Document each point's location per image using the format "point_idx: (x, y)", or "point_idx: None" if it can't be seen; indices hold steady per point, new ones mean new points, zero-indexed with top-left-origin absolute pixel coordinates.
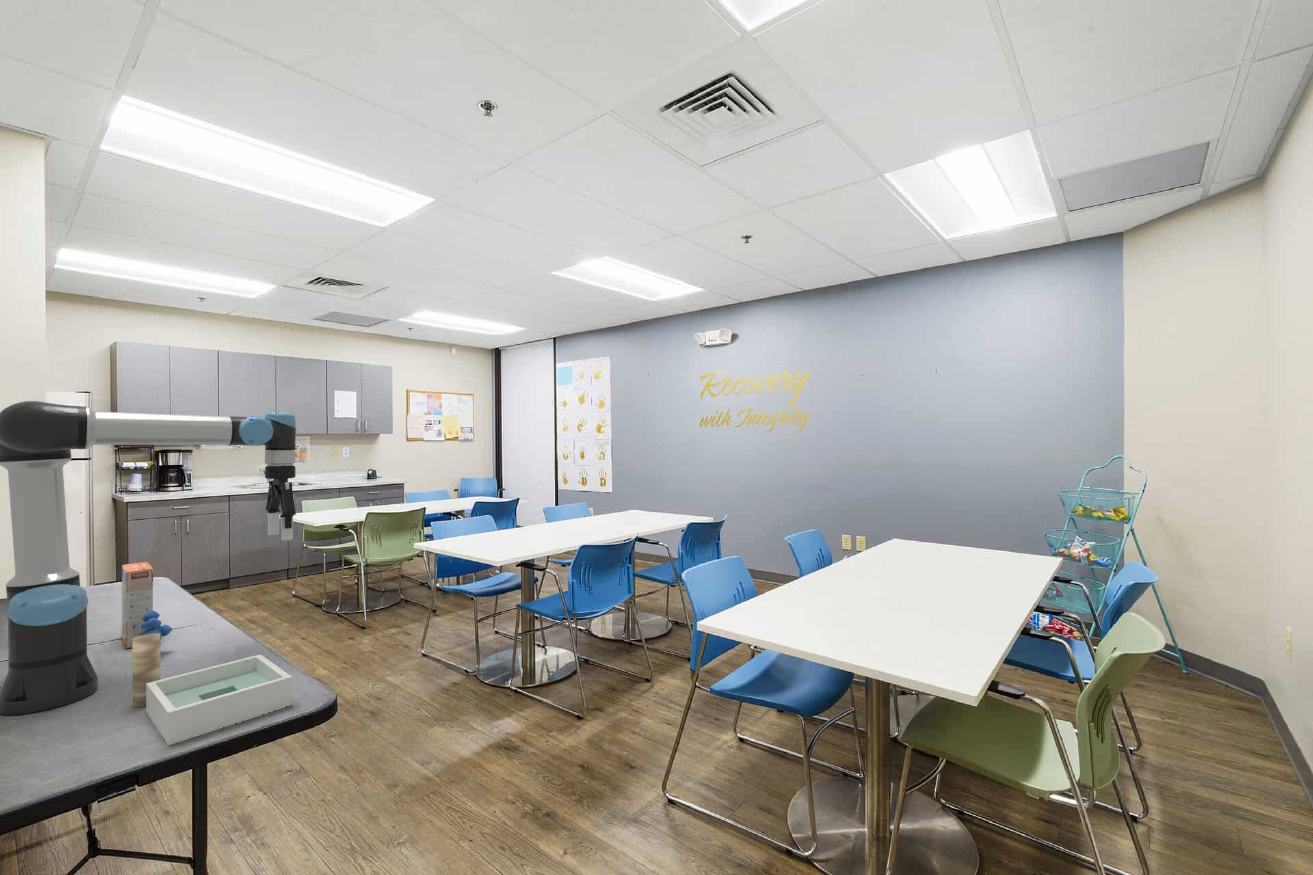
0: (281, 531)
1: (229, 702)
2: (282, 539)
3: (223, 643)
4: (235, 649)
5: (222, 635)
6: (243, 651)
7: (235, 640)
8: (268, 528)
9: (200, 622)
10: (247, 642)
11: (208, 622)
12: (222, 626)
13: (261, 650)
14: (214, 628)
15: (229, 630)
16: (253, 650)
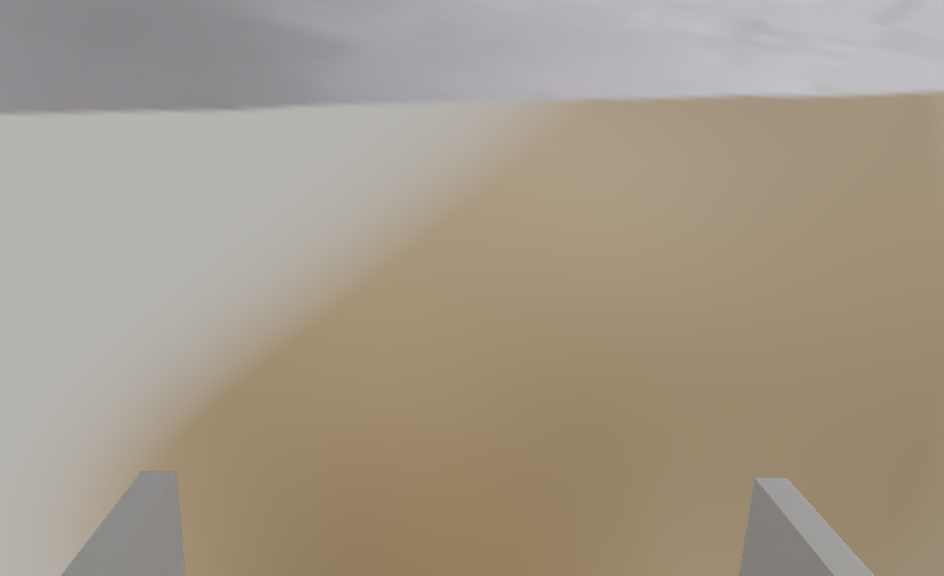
0: (114, 541)
1: None
2: (140, 483)
3: (434, 11)
4: (286, 27)
5: (581, 42)
6: (223, 45)
7: (440, 65)
8: (808, 530)
9: (929, 22)
10: (359, 96)
11: (892, 51)
12: (750, 83)
13: (176, 107)
14: (747, 45)
15: (644, 89)
16: (204, 81)
